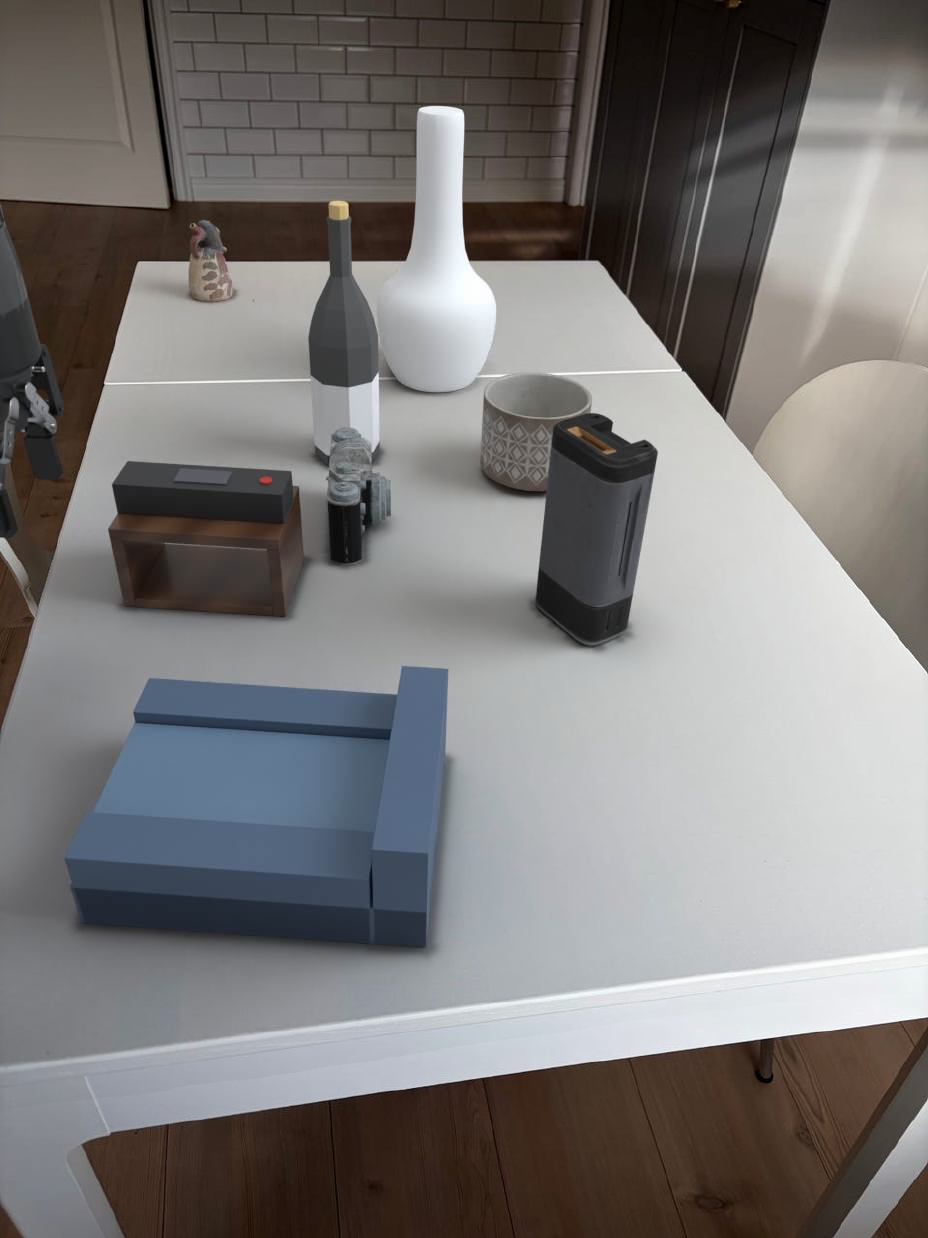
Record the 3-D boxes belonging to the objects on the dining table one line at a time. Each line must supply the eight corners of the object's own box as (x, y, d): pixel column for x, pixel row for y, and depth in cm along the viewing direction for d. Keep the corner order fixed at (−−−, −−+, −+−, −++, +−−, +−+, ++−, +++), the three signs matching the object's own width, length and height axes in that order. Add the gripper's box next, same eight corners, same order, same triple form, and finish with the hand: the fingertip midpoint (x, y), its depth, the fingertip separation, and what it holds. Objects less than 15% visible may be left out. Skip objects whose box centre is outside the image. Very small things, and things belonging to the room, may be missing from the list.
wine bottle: (318, 471, 120) (303, 214, 102) (312, 440, 126) (297, 193, 108) (384, 467, 122) (381, 212, 103) (375, 437, 128) (370, 192, 110)
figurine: (242, 295, 167) (234, 221, 160) (206, 304, 163) (197, 229, 156) (217, 284, 171) (209, 211, 164) (181, 293, 167) (171, 219, 159)
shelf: (124, 606, 97) (107, 528, 92) (155, 550, 105) (141, 476, 100) (285, 616, 97) (278, 539, 92) (304, 559, 105) (299, 485, 100)
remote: (117, 513, 94) (111, 482, 92) (132, 489, 98) (127, 459, 96) (284, 524, 94) (281, 493, 92) (293, 499, 97) (291, 469, 95)
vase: (500, 360, 149) (516, 102, 128) (482, 407, 136) (497, 128, 115) (392, 348, 151) (390, 92, 130) (364, 393, 138) (357, 117, 117)
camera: (391, 565, 105) (391, 482, 99) (327, 565, 104) (322, 482, 98) (390, 494, 117) (389, 416, 110) (332, 494, 116) (328, 415, 110)
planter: (462, 482, 119) (466, 402, 113) (504, 440, 129) (509, 364, 122) (560, 509, 115) (569, 427, 109) (596, 463, 125) (606, 385, 118)
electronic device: (633, 632, 97) (667, 449, 85) (587, 652, 94) (614, 466, 82) (573, 585, 103) (596, 407, 91) (528, 602, 100) (545, 422, 88)
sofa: (81, 923, 69) (50, 827, 63) (159, 740, 83) (140, 648, 77) (426, 948, 68) (428, 853, 62) (445, 760, 82) (448, 668, 76)
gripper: (-38, 260, 72) (18, 459, 82) (-147, 333, 61) (-67, 553, 71) (63, 264, 72) (107, 463, 82) (-28, 339, 61) (36, 559, 70)
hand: (27, 505), depth 76 cm, fingers open, 8 cm apart
